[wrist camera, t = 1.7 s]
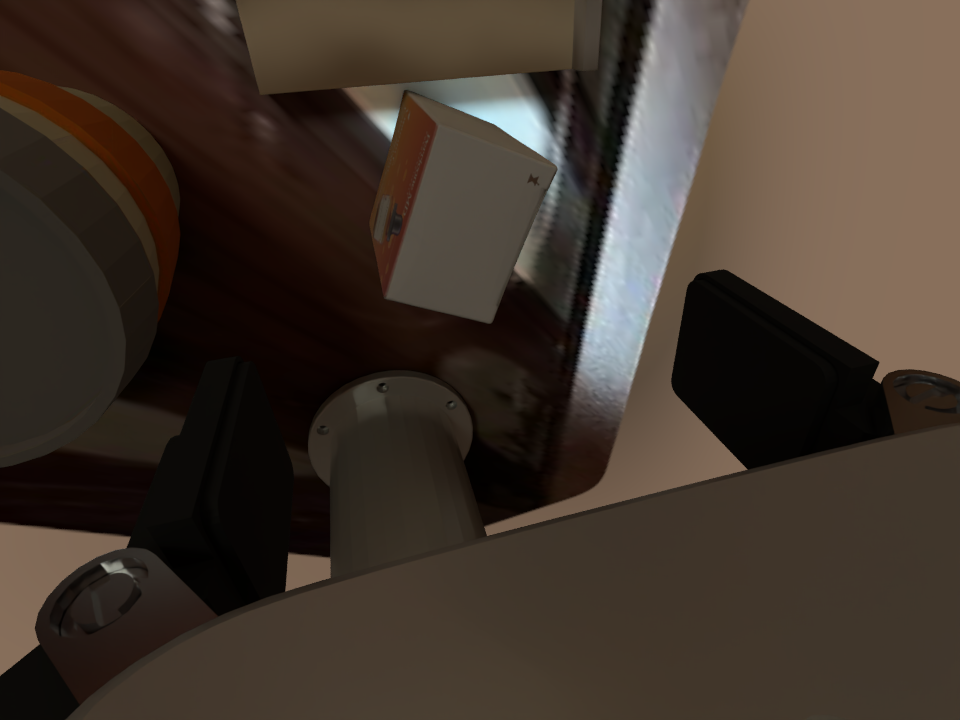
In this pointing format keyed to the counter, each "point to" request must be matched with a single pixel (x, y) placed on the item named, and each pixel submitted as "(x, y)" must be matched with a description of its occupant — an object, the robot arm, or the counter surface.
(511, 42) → the shelf board
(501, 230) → the small box
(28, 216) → the reusable coffee cup
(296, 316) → the counter surface
